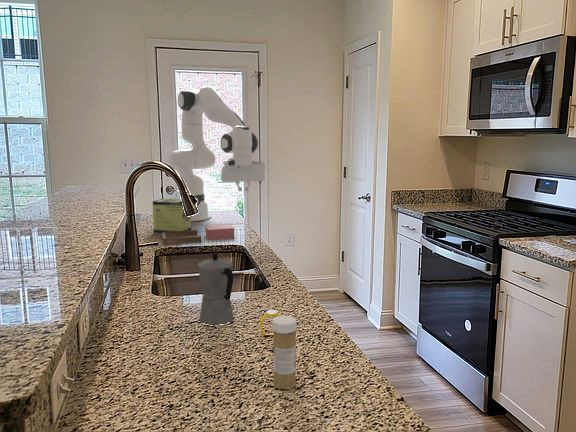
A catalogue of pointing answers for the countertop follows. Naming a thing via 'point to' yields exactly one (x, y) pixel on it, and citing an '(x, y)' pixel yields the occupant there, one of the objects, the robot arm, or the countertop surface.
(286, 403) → the countertop surface
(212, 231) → the carton
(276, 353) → the sprinkles bottle
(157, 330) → the countertop surface
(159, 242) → the countertop surface
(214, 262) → the coffeepot
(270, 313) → the watch
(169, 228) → the protein box
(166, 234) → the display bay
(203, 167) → the robot arm
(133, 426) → the countertop surface
